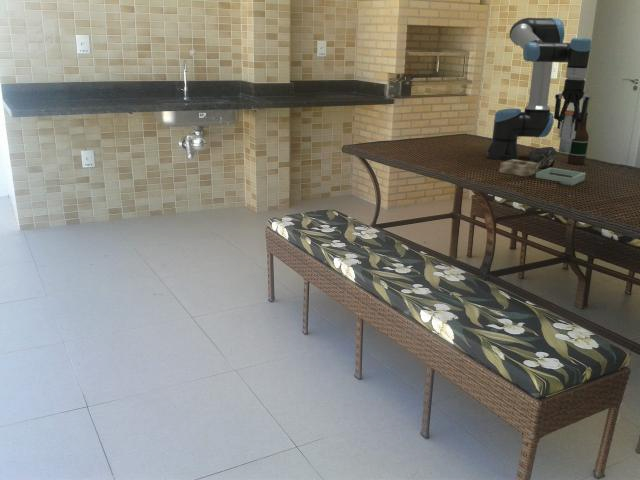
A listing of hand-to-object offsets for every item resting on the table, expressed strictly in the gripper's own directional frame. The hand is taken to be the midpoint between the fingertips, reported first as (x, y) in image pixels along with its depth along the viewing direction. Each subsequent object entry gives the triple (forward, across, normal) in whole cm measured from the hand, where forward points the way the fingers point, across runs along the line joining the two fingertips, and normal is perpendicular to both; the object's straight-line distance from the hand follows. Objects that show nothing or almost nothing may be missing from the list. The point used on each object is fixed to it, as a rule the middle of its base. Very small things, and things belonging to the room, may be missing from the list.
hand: (566, 137), depth 249 cm
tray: (+18, 0, 0) cm, 18 cm away
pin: (+6, 0, 0) cm, 6 cm away
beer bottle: (+18, -8, +41) cm, 46 cm away
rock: (+18, -15, +16) cm, 28 cm away
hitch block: (+18, -17, -3) cm, 25 cm away
